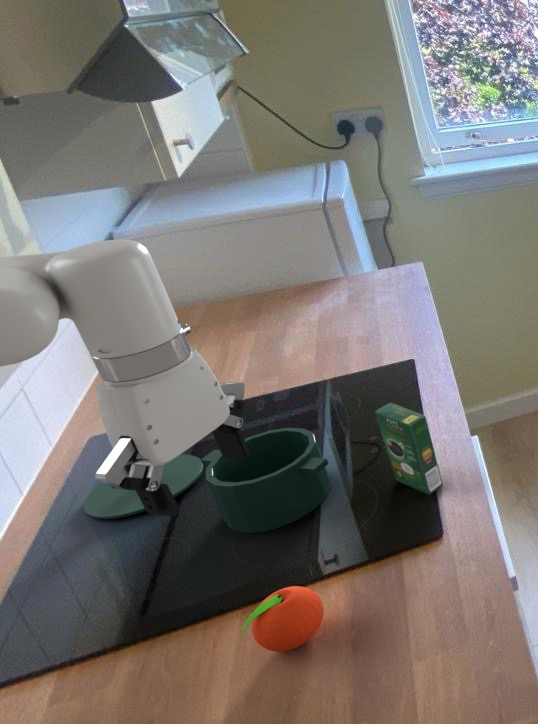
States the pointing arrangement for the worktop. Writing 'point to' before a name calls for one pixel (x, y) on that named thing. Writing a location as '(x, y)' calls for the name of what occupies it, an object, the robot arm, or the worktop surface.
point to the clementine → (286, 618)
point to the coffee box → (409, 448)
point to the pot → (269, 480)
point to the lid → (127, 502)
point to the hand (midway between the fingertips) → (203, 483)
